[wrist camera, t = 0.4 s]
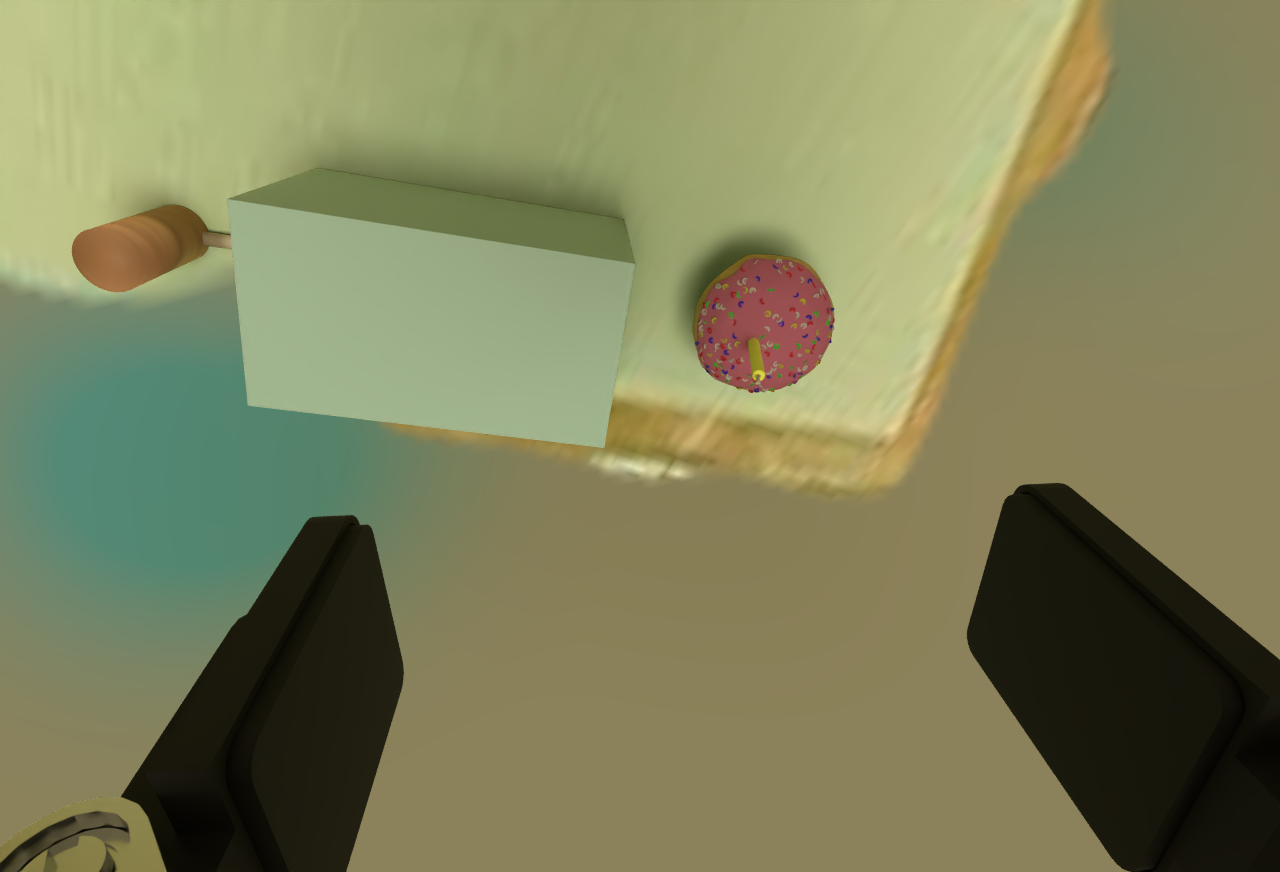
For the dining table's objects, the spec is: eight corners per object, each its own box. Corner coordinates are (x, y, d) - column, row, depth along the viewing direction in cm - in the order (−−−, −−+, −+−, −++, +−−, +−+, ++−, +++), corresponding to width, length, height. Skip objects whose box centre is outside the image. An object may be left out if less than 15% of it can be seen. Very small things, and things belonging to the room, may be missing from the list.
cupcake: (698, 376, 47) (730, 463, 36) (670, 258, 43) (698, 317, 32) (819, 345, 47) (887, 424, 36) (803, 222, 43) (874, 270, 32)
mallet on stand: (143, 175, 39) (59, 194, 33) (555, 241, 42) (550, 270, 36) (159, 278, 41) (84, 313, 35) (544, 332, 45) (538, 373, 39)
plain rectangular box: (317, 168, 39) (227, 199, 29) (623, 219, 42) (635, 263, 32) (324, 331, 44) (248, 405, 34) (600, 368, 46) (603, 447, 36)
